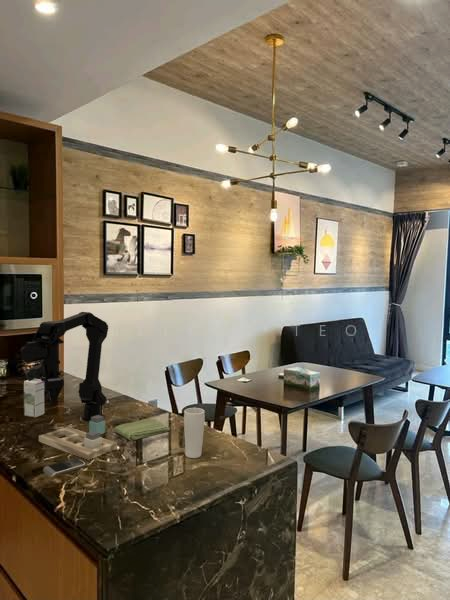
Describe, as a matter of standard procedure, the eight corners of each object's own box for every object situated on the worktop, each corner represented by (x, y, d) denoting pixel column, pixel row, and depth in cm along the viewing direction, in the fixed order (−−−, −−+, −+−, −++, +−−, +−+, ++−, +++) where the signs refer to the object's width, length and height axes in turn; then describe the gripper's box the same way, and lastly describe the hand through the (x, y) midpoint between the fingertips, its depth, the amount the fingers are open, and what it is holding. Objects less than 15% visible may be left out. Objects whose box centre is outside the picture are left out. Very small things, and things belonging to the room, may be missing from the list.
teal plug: (97, 430, 169) (98, 414, 169) (105, 432, 167) (105, 416, 166) (89, 433, 166) (89, 417, 165) (96, 435, 163) (96, 419, 163)
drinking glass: (183, 451, 151) (184, 407, 150) (203, 451, 151) (204, 407, 150) (183, 460, 144) (183, 414, 143) (204, 459, 145) (205, 413, 144)
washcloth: (171, 432, 170) (171, 424, 170) (130, 443, 158) (130, 434, 158) (152, 423, 179) (152, 415, 179) (112, 433, 168) (112, 424, 167)
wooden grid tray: (67, 431, 166) (67, 426, 166) (117, 448, 152) (117, 442, 152) (38, 441, 156) (38, 435, 156) (88, 460, 142) (88, 454, 142)
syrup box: (44, 413, 186) (45, 379, 186) (34, 418, 181) (34, 382, 180) (33, 412, 188) (33, 377, 187) (23, 416, 183) (23, 380, 182)
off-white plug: (93, 447, 152) (93, 430, 152) (101, 450, 150) (101, 432, 150) (84, 451, 149) (84, 433, 149) (92, 454, 147) (92, 436, 147)
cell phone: (86, 468, 137) (86, 463, 137) (50, 478, 130) (50, 474, 130) (77, 461, 142) (77, 457, 142) (42, 471, 134) (42, 467, 134)
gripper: (23, 354, 164) (24, 396, 165) (28, 365, 147) (29, 411, 149) (56, 352, 169) (56, 392, 170) (64, 362, 153) (64, 407, 154)
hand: (51, 400), depth 161 cm, fingers open, 9 cm apart
